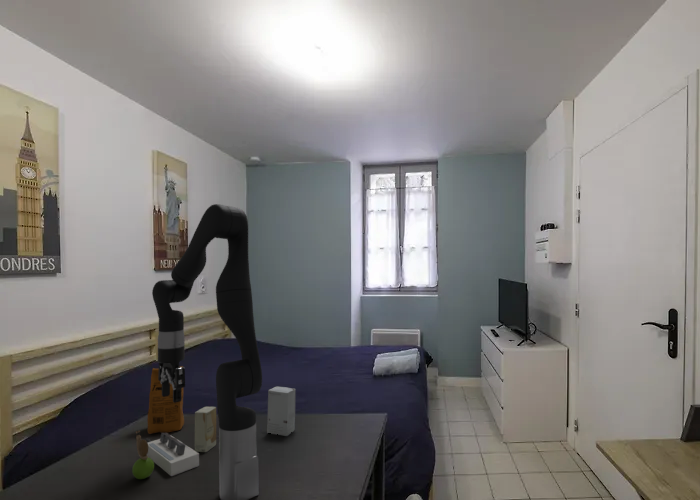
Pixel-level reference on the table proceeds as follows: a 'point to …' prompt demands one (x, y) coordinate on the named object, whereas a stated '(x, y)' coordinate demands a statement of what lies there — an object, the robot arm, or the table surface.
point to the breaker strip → (172, 457)
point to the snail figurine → (142, 460)
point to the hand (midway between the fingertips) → (171, 398)
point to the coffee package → (163, 408)
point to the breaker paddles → (172, 443)
